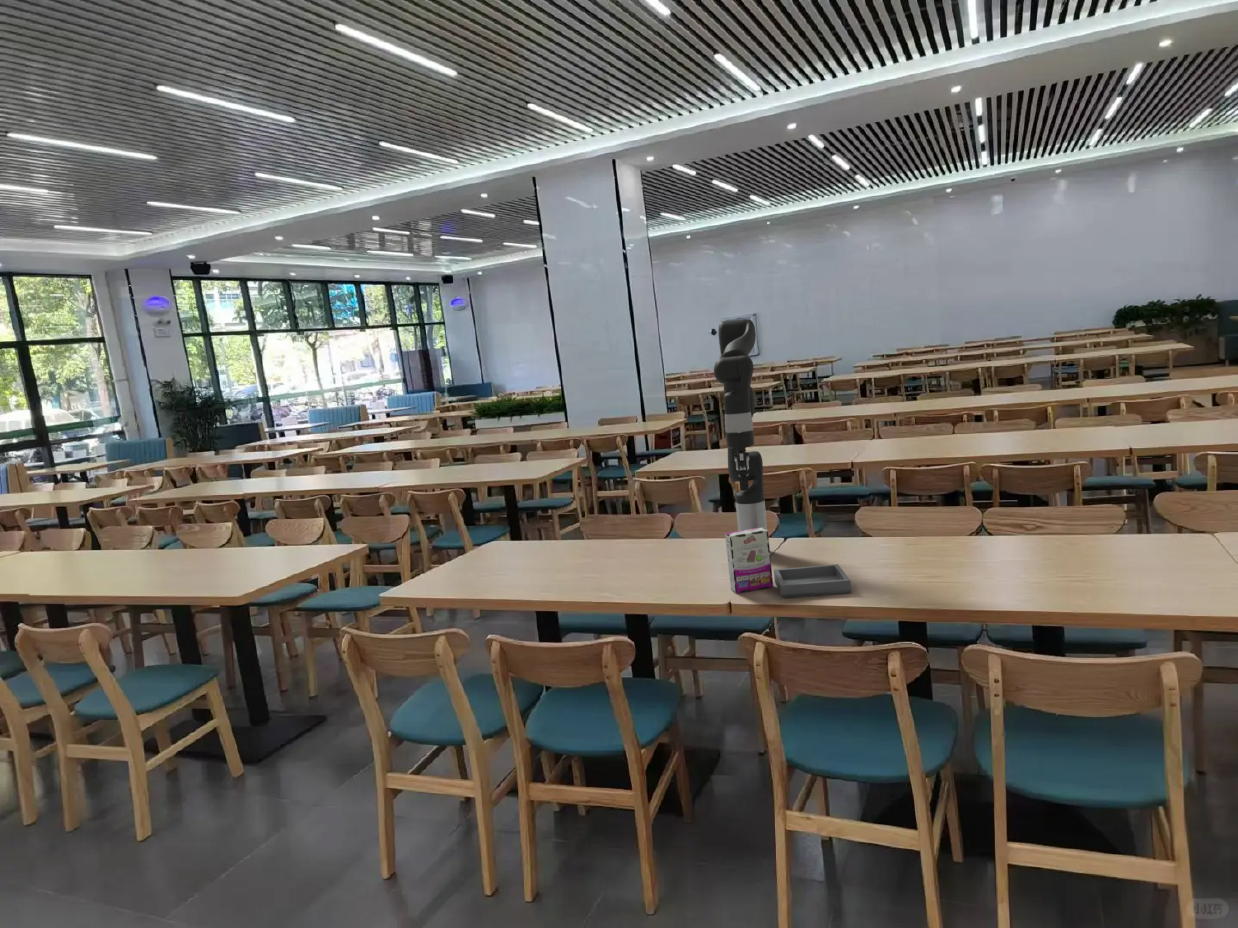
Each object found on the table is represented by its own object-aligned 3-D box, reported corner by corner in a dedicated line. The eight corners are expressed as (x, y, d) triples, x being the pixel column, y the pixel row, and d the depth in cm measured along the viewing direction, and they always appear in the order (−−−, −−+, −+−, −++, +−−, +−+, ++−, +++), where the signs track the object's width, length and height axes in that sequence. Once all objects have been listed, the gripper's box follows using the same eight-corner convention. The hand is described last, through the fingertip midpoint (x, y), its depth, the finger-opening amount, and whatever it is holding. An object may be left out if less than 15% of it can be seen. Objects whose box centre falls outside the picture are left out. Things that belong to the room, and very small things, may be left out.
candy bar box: (767, 583, 225) (762, 526, 223) (773, 587, 220) (769, 530, 218) (729, 589, 223) (724, 532, 221) (735, 594, 218) (730, 535, 216)
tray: (774, 581, 226) (773, 569, 226) (839, 576, 225) (838, 564, 224) (781, 598, 210) (780, 585, 210) (851, 593, 209) (850, 580, 208)
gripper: (725, 429, 226) (731, 485, 227) (725, 433, 212) (730, 493, 213) (752, 426, 225) (757, 483, 226) (753, 430, 211) (758, 490, 212)
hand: (744, 488), depth 220 cm, fingers open, 8 cm apart
